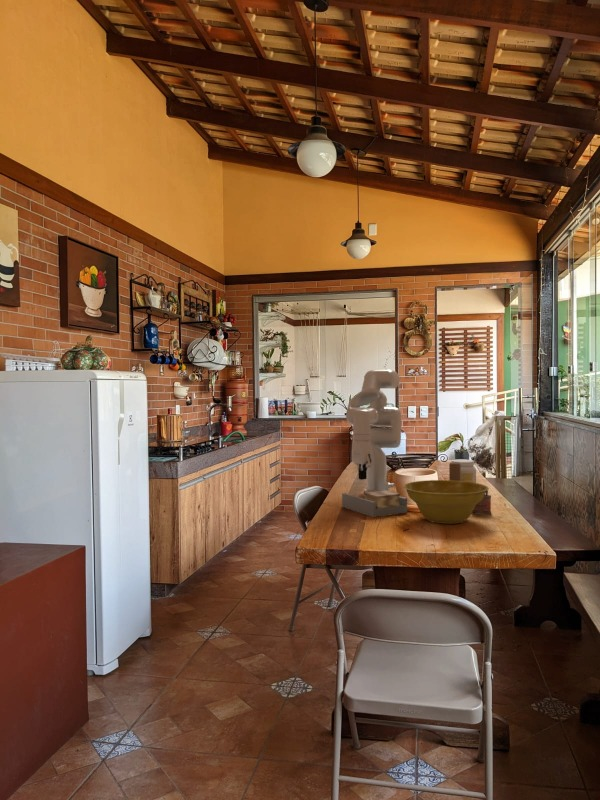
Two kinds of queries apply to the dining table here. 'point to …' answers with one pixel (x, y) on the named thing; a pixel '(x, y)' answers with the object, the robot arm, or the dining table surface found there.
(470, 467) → the supplement tub
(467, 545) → the dining table surface
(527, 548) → the dining table surface
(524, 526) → the dining table surface
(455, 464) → the wooden block
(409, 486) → the planter bowl
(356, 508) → the bay
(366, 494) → the crate
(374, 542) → the dining table surface
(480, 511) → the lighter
